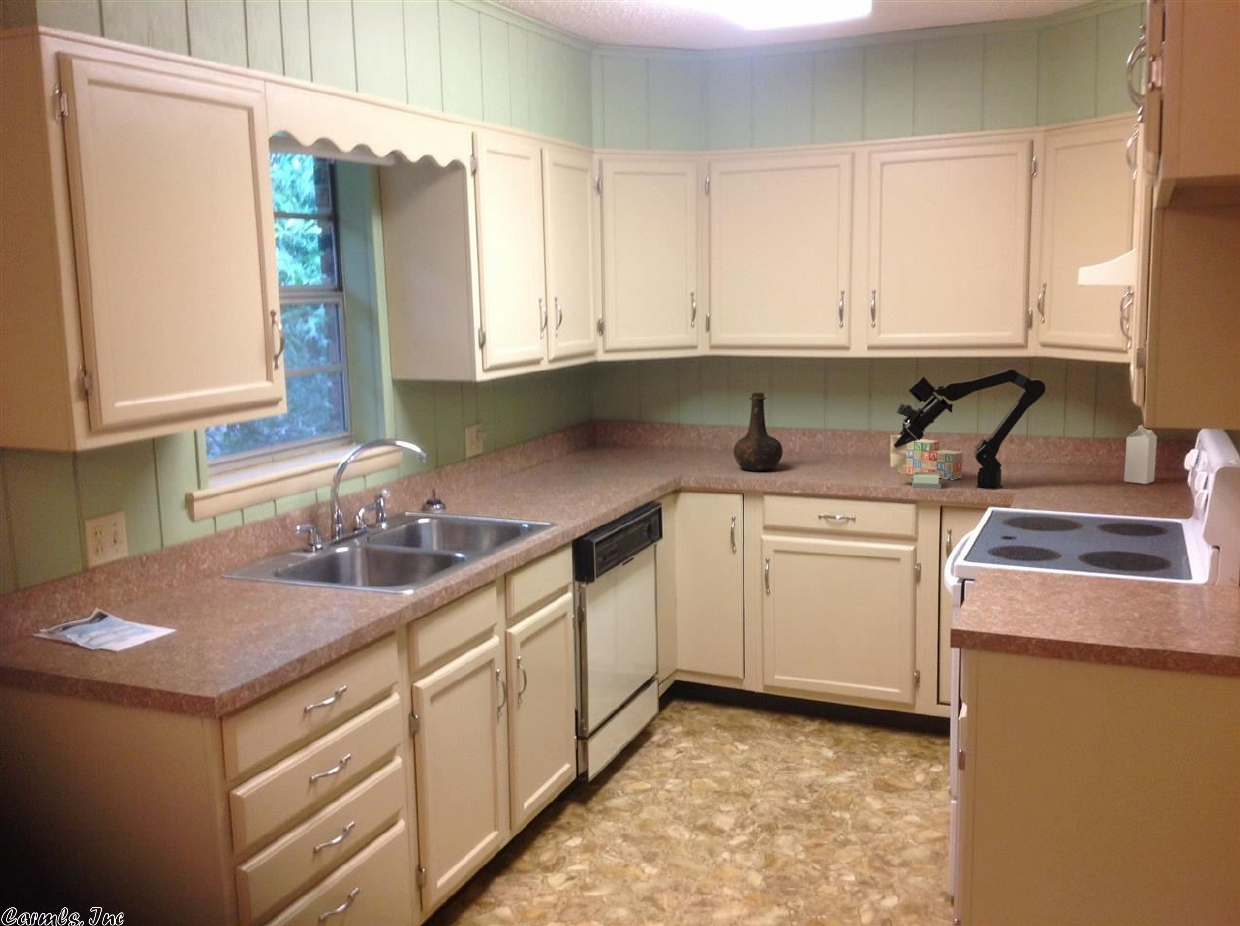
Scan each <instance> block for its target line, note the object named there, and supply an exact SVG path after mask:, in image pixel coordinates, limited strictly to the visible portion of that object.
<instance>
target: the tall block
mask: <svg viewBox="0 0 1240 926" xmlns="http://www.w3.org/2000/svg"><path fill="white" fill-rule="evenodd" d="M900 436H901V435H899V434H890V468H898V467H907V444H905V445H902V446H900V447H897V448H895V447H894V444H895V443H896V442H897V440H898V439H899V438H900Z"/></svg>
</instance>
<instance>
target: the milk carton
mask: <svg viewBox="0 0 1240 926" xmlns="http://www.w3.org/2000/svg"><path fill="white" fill-rule="evenodd" d="M1157 439H1158V436H1157V435H1156V434H1155V433H1154V431H1153V430H1152V429H1151V430H1147V429H1145V428H1144V427H1143V424H1141V425H1138V427H1137V429H1136V430H1135V431H1134V432H1132V433H1130V434H1129V435H1127V437H1126V445H1125V446H1126V447H1125V459H1124V461H1125V462H1124V477H1123V482H1126V483H1137V484H1142V485H1143V484H1144V485H1145V484H1146V485H1147V484H1149V483H1153V482H1155V472H1156V470H1155V469H1156V458H1157V457H1156V454H1157V441H1158V440H1157Z"/></svg>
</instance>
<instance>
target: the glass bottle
mask: <svg viewBox="0 0 1240 926" xmlns="http://www.w3.org/2000/svg"><path fill="white" fill-rule="evenodd" d="M764 395H765V392H751V397H750V398H749V400H751V404H750V406H751V409H750V419H749V425H748V429H747V433H746V434H745V435H744V436H743V437H742V438H740V439H739V440H738V441H737V442H736V443H735V445H734V448H733V456H734V460H735V461H736V463H737V464H738V465H739V466H740V467H741V468H743V469H744V470H747V471H750V470H751V472H763V471H764V472H765V471H769V470H771V469H774V468H775V467H776V466H777V465H778V464H779V463H780V461H781V460H782V456H783V451H784V450H783V446H782V444H781V442H780V441H779V440H778V439H777V438H775V437H773V436H770V435H769V433H768V432H767V428H766V419H765V418H766V417H765V404H764V403H765V402H764V401H765V400H766V399H767V398H766V397H765V396H764Z"/></svg>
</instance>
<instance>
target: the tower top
mask: <svg viewBox="0 0 1240 926" xmlns="http://www.w3.org/2000/svg"><path fill="white" fill-rule="evenodd" d="M939 475H940V473H926V472H915V473H914V476H912V478H913V483H928V484H939V480H940V479H939Z"/></svg>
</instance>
